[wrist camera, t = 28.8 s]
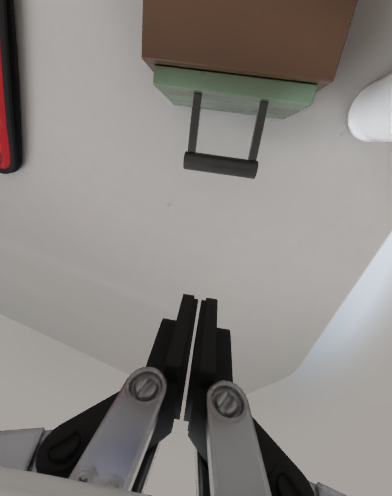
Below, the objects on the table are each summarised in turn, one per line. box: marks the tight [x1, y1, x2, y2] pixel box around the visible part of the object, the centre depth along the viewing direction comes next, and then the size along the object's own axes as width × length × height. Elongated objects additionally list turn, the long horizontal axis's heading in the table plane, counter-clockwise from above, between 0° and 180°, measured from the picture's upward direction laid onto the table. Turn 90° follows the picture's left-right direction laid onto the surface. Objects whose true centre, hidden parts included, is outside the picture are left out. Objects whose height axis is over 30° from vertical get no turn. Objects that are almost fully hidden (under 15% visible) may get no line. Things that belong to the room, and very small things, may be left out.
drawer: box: [153, 65, 317, 179], centre depth 18 cm, size 19×11×8 cm, turn 173°
